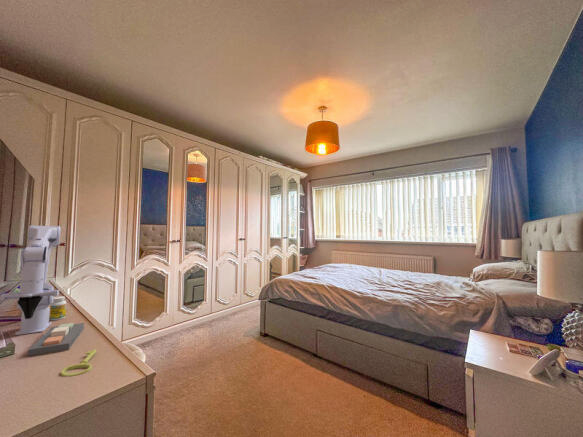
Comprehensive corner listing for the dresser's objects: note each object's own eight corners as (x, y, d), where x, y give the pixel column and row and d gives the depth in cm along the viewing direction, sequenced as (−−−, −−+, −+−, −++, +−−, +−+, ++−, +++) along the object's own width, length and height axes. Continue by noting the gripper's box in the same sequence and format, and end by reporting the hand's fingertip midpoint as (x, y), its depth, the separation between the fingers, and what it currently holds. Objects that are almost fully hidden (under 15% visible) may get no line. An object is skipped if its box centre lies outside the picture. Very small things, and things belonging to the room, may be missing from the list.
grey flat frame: (51, 332, 94) (51, 326, 94) (83, 328, 99) (84, 322, 99) (27, 356, 77) (28, 349, 77) (68, 349, 82) (69, 343, 82)
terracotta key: (47, 344, 83) (48, 337, 83) (62, 342, 85) (63, 335, 85) (42, 349, 80) (43, 342, 80) (58, 347, 82) (59, 340, 82)
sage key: (60, 330, 94) (60, 324, 95) (73, 328, 96) (74, 322, 97) (56, 334, 91) (57, 328, 91) (70, 332, 93) (71, 326, 93)
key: (96, 354, 80) (97, 348, 80) (90, 374, 70) (90, 366, 70) (68, 360, 76) (68, 353, 76) (57, 381, 66) (57, 374, 66)
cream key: (54, 334, 89) (55, 328, 89) (68, 332, 91) (69, 326, 91) (50, 338, 85) (51, 332, 86) (65, 336, 87) (65, 330, 88)
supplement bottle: (66, 315, 112) (68, 295, 112) (63, 319, 107) (65, 298, 108) (51, 317, 109) (52, 296, 109) (47, 321, 104) (49, 299, 105)
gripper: (-4, 283, 79) (-8, 325, 78) (55, 280, 86) (52, 318, 85) (7, 279, 85) (4, 318, 84) (62, 277, 92) (59, 312, 91)
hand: (29, 317), depth 85 cm, fingers closed
